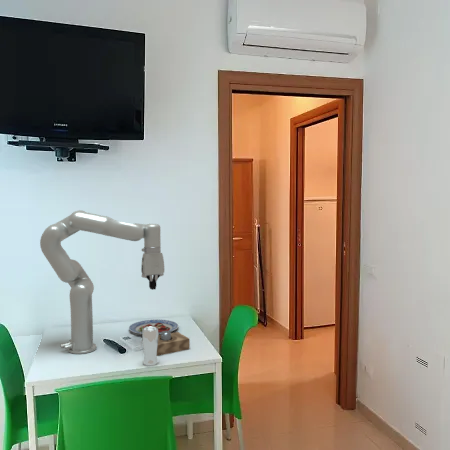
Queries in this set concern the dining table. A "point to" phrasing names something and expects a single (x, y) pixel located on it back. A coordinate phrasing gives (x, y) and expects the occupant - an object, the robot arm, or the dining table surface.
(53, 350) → the dining table surface
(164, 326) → the ceramic plate
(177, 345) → the block
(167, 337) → the grey cylinder
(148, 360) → the beer glass
